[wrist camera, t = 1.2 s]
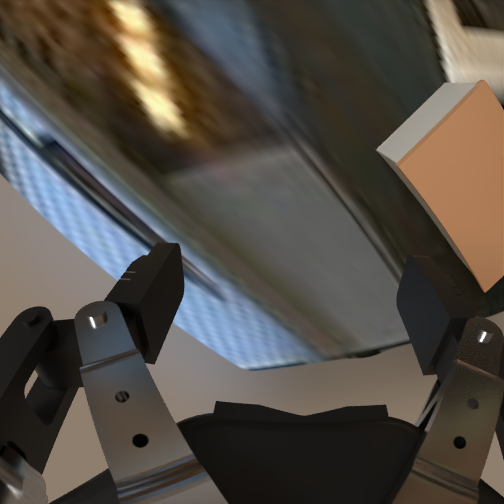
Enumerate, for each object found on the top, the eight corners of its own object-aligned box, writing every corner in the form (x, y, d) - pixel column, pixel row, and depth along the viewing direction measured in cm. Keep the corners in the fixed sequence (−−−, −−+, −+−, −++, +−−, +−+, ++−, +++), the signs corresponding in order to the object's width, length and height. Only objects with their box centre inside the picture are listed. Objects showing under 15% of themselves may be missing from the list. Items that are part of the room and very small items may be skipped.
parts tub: (445, 82, 29) (480, 84, 22) (514, 197, 34) (546, 219, 27) (375, 149, 34) (398, 164, 27) (456, 255, 39) (482, 285, 32)
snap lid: (475, 79, 23) (515, 82, 17) (543, 216, 28) (575, 240, 22) (391, 162, 28) (419, 181, 22) (478, 284, 33) (503, 317, 27)
